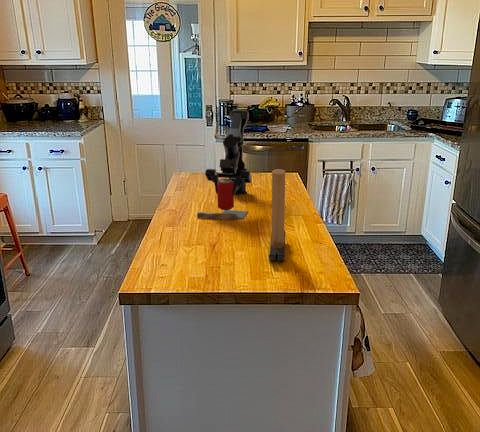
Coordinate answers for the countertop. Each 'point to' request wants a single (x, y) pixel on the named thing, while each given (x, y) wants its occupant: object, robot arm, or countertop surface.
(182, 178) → the countertop surface
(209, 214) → the rail
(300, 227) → the countertop surface
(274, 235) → the hammer
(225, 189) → the beverage can
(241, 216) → the end pad
